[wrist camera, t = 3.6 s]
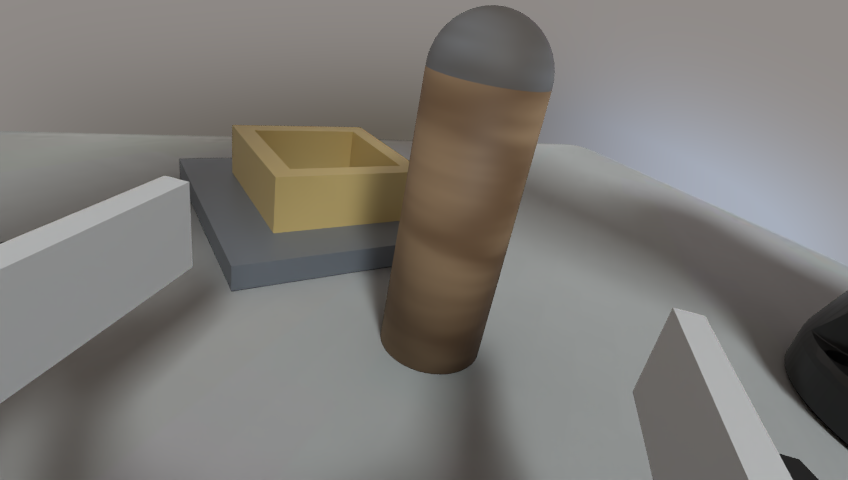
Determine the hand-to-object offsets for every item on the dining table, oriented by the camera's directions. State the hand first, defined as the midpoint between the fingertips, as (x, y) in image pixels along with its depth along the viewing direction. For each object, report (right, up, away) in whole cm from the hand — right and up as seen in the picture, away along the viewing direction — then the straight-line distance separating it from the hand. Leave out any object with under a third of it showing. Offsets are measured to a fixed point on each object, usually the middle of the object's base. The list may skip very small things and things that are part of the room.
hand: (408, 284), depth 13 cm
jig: (-7, +3, +23) cm, 24 cm away
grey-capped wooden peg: (+1, -4, +12) cm, 12 cm away
